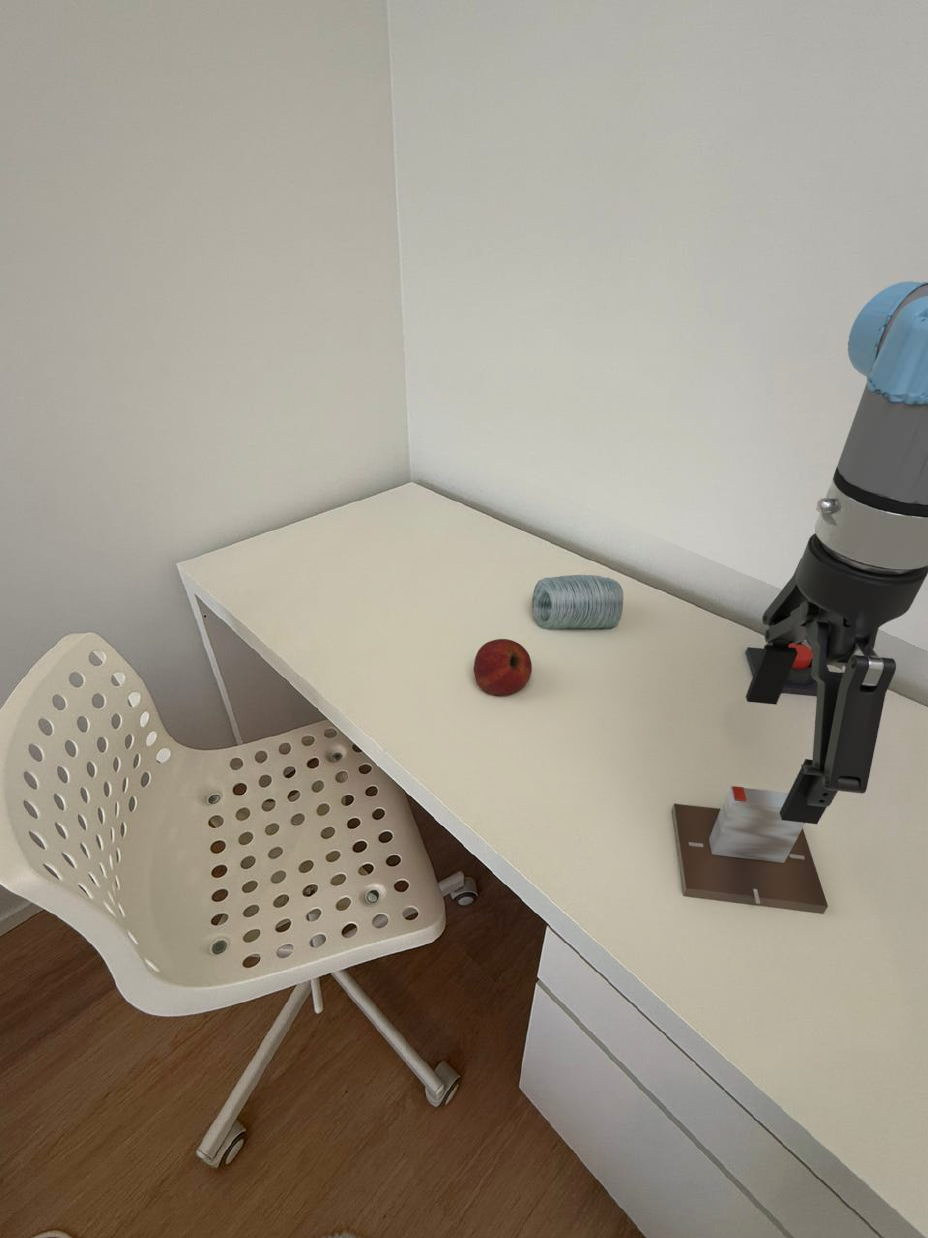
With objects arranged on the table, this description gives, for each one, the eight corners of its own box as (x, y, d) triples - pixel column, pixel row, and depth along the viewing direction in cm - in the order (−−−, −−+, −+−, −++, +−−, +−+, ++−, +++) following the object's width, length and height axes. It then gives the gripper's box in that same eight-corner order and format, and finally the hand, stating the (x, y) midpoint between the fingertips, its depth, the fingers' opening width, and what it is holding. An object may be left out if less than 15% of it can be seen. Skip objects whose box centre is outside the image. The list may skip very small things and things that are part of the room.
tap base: (790, 826, 71) (798, 811, 69) (821, 926, 62) (831, 912, 60) (668, 812, 72) (673, 797, 70) (681, 908, 63) (687, 893, 62)
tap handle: (779, 847, 66) (807, 793, 60) (784, 863, 64) (813, 809, 59) (708, 839, 66) (729, 784, 61) (711, 854, 65) (733, 800, 60)
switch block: (816, 665, 92) (825, 643, 89) (833, 704, 85) (844, 682, 83) (743, 658, 93) (750, 637, 90) (755, 697, 87) (763, 675, 84)
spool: (527, 629, 93) (547, 562, 91) (521, 617, 102) (539, 556, 100) (618, 654, 94) (639, 588, 92) (603, 640, 103) (622, 579, 101)
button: (804, 653, 88) (809, 643, 87) (812, 671, 85) (816, 661, 84) (777, 651, 89) (781, 641, 88) (784, 668, 86) (788, 658, 85)
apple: (492, 716, 84) (494, 670, 79) (462, 681, 89) (462, 635, 84) (539, 695, 87) (543, 650, 82) (507, 663, 92) (509, 618, 87)
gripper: (771, 468, 55) (711, 659, 68) (877, 659, 35) (765, 876, 48) (864, 474, 54) (786, 666, 67) (1027, 672, 34) (872, 890, 47)
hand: (777, 754), depth 57 cm, fingers open, 13 cm apart
